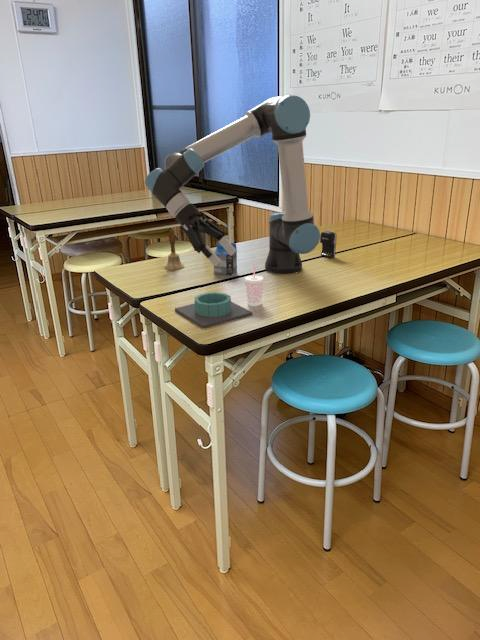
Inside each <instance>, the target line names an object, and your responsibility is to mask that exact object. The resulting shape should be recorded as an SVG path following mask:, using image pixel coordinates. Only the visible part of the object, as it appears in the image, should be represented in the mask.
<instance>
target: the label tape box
mask: <svg viewBox="0 0 480 640" xmlns="http://www.w3.org/2000/svg"><path fill="white" fill-rule="evenodd" d="M230 243H231V245H232V246H233V247H234V248H235V249H236V250H237V251H238V249H237V243H235V242H234V243H233V242H230ZM237 251H236V252H235V253H234V254H233V255H232V256H230V254H229V253H228V252H227V251H226V250H225V249H224V248H223V247H222V246H221V244H220V243H219V241H216V248H215V250H214V251H213V252H214V253H215V254H216V255H217V256H218V258H219V259H220V260H221V262H220V263H219V264H218V265H217V266H214V265H213V274H214V275H226V276H235V275H236V274H237V273H238V265H237V263H238V258H237V256H238V255H237V253H238V252H237ZM237 275H238V274H237Z"/></svg>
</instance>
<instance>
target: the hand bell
mask: <svg viewBox="0 0 480 640" xmlns="http://www.w3.org/2000/svg"><path fill="white" fill-rule="evenodd" d="M168 232H169V233H168V241H169V244H170V254H168V256H167V262H166V264H165V265H164V269H165V270H167V271H178V269H179V270H182V269H184V268H185V265H184V264H183V263H182V261H181V258H180V255H179V253H176V247H175V243H176V235H175V233H174V230H173V229H169V231H168Z"/></svg>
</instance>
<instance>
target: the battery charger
mask: <svg viewBox="0 0 480 640" xmlns="http://www.w3.org/2000/svg"><path fill="white" fill-rule="evenodd" d="M319 243H320V244H321V248H322V249H321V253H320V256H321V257H323V256H326V257H325V258H327V257H334V258H335V257H336V250H337V249H336V248H337V233H336V232H335V231H332V230H323V231H322V232H320V240H319Z"/></svg>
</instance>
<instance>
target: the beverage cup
mask: <svg viewBox="0 0 480 640" xmlns="http://www.w3.org/2000/svg"><path fill="white" fill-rule="evenodd" d="M252 265H253V269H252V270H253V275H248V276H246V277H244V278H245V279H244V281H245V284H246V285H245V287H246V298H247V305H248V306H250V307H251V306H252V307H258V305H259V306H261V305H262V296H263V284H264V279H265V278H264V276H262V275H257V274H256V263H255V262H253V264H252ZM260 304H261V305H260Z"/></svg>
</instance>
